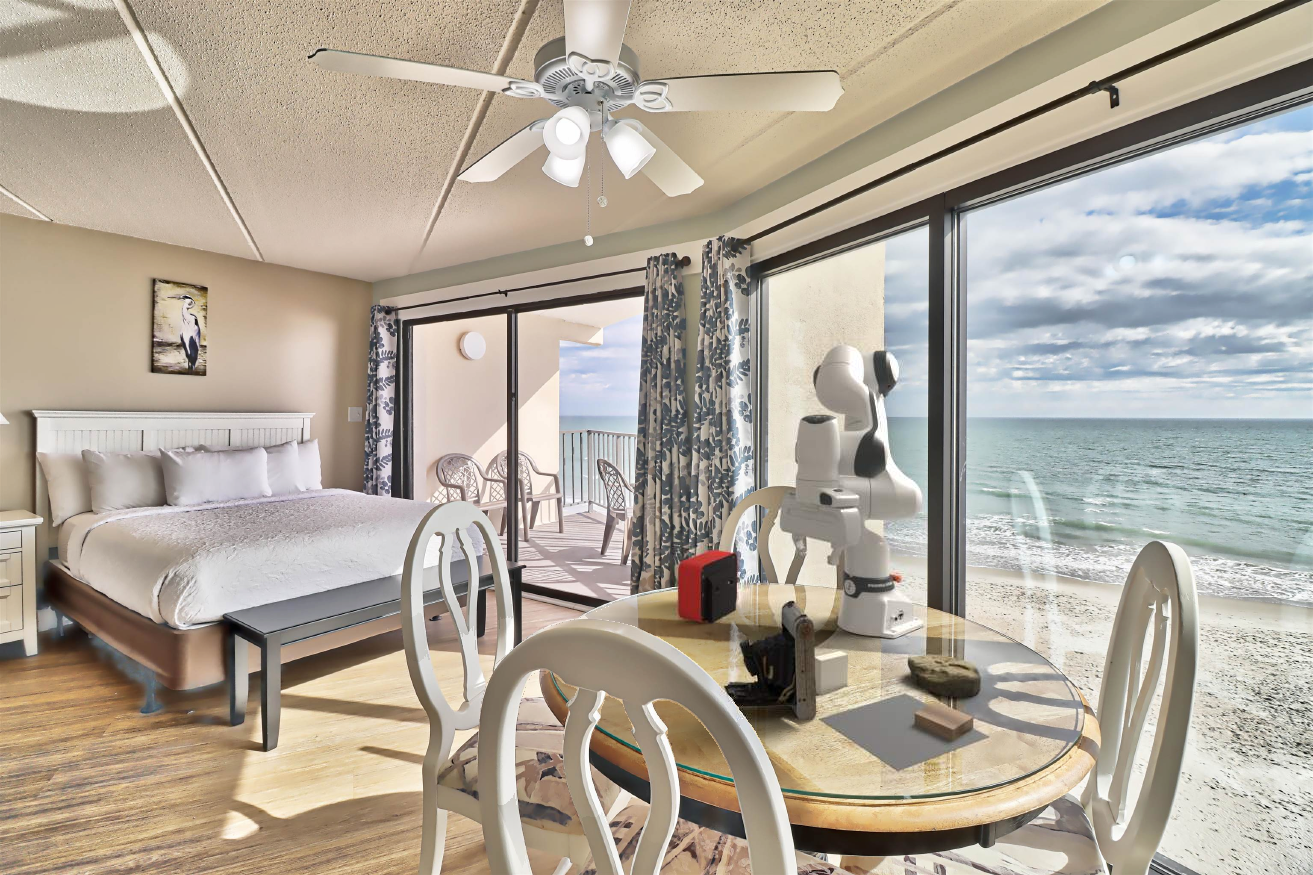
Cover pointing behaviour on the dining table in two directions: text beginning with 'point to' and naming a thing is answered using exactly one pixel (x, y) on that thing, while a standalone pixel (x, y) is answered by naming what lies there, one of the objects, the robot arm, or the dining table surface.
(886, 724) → the mat
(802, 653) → the vintage camera
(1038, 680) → the dining table surface
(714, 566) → the alarm clock
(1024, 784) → the dining table surface
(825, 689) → the box
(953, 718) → the walnut block
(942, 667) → the stone
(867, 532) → the robot arm
